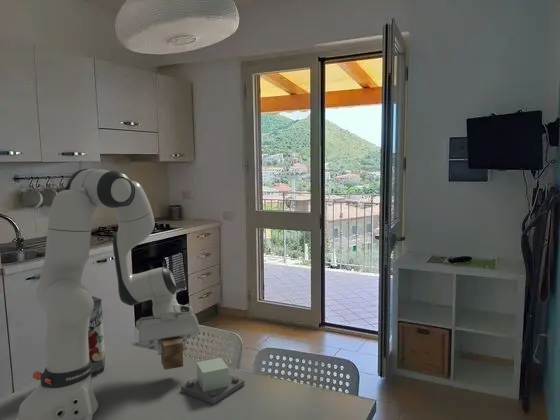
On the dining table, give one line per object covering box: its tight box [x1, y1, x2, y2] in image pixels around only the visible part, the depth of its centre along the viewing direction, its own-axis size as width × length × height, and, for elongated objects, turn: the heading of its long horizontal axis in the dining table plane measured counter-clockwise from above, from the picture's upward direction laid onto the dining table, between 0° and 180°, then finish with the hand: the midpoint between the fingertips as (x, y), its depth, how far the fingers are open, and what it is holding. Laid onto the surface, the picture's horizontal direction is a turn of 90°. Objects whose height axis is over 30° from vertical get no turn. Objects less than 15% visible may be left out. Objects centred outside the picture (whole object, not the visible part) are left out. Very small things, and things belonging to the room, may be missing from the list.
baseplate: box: [180, 357, 245, 405], centre depth 139 cm, size 14×14×8 cm
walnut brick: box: [160, 337, 184, 371], centre depth 146 cm, size 6×6×8 cm
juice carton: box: [88, 295, 106, 376], centre depth 149 cm, size 9×10×27 cm
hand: (172, 352), depth 145 cm, fingers closed on walnut brick, 6 cm apart
